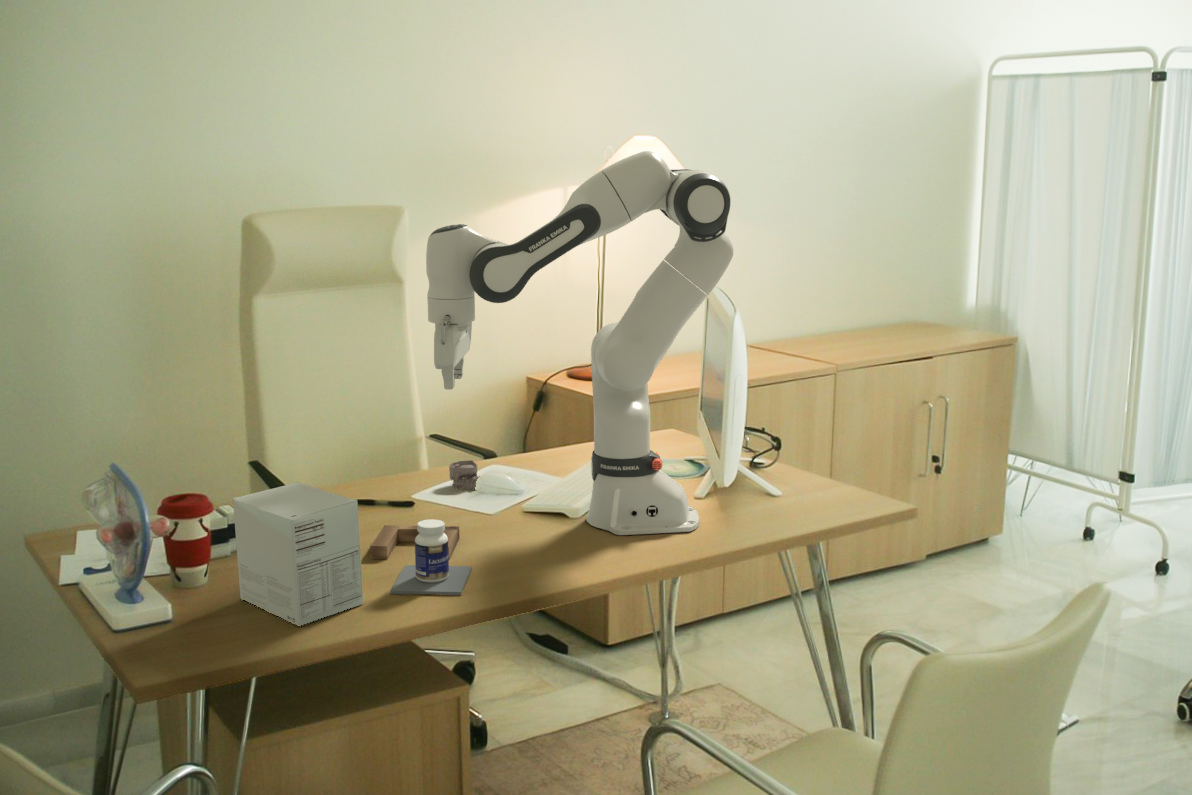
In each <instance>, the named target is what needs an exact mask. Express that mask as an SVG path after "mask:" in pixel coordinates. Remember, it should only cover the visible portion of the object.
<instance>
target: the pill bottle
mask: <svg viewBox="0 0 1192 795" xmlns="http://www.w3.org/2000/svg"><path fill="white" fill-rule="evenodd" d="M416 526H417V531H418V532H419V534H418V535H417V536H416V538H415V542H414V552H415V553H414V555H415V556H414V559H415V561H414V562H415V564H414V565H415V566H416V578H417V579H418V580H419V581H422V582H426V583H435V582H440V581H443V580H445V579H447V578H448V576H449V566H450V564H449V561H450V560H449V557H448V537H447V535H446V534H444V533H443V532H444V530H445V526H446V524H445V521H442V520H440V519H434V518H433V519H432V518H431V519H430V518H429V519H423V520H420V521H418V522H417V525H416Z"/></svg>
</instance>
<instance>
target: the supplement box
mask: <svg viewBox="0 0 1192 795" xmlns="http://www.w3.org/2000/svg"><path fill="white" fill-rule="evenodd" d="M232 504H233V505H232V506H233V507H232V508H233V517H234V530H235V545H236V547H235V548H236V556H237V557H236V558H237V571H238V572H237V573H238V585H239V596H240V598H241V599H244V600H246V601H248V602H250V603H252V604H254V605H257V606H259V607H260V608H263V609H265V610H266V611H269V612H271V613H273V614H275V615H277V616H279V617H281V618H283V619H285V620H287V621H289V622H292V623H294V624H296V625H302V626H304V625H303V624H305V625H308V624H311V623H312V622H313V621H314V622H317V621H319V620H321V618H322V619H324V617H325V618H328V617H330V615H331V616H333V615H336V614H339V613H341V612H344V610H345V611H348V610H350V608H351V609H353V608H356V607H358V606H362V605H363V604H364V595H363V594H364V593H363V592H364V590H363V575H362V574H363V573H362V557H361V556H362V554H361V541H360V523H359V509H358V508H359V507H358V505H359V504H358V500H357V499H355V498H354V499H353V498H350V497H346V496H344V495H343V496H342V495H341V494H337V493H333V492H331V491H327V490H324V489H321V488H319V487H318V488H317V487H314V486H311V485H309V484H305V483H302V482H299V481H298V482H294V483H290V484H285V485H282V486H278V487H274V488H270V489H265V490H262V491H257V492H252V493H250V494H246V495H242V496H238V497H233V499H232ZM250 603H249V604H250ZM252 604H251V605H252ZM254 605H253V606H254ZM260 608H259V609H260ZM347 609H348V610H347ZM266 611H265V612H266ZM338 612H339V613H338ZM327 616H328V617H327ZM279 617H278V618H279ZM281 618H280V619H281ZM283 619H282V620H283ZM318 619H319V620H318ZM285 620H284V621H285ZM287 621H286V622H287ZM289 622H288V623H289ZM310 622H311V623H310ZM307 623H308V624H307Z"/></svg>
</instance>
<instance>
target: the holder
mask: <svg viewBox="0 0 1192 795" xmlns="http://www.w3.org/2000/svg"><path fill="white" fill-rule="evenodd" d="M443 533H444V534H446V535H447V537H448V557H449V561H450V559H451V558H452V556H453V553H454V551H455V550H456V547H457V545H458V542H459V541H460V537H461V536H460V526H459V525H445V530H444V532H443ZM418 534H419V532H418V531H417V525H398V524H397V525H396V524H395V525H391V524H389V525H387V524H385V525H384V526H383V527H382V528H381V530H380V531H379V533H378V534H377V536H376V538H375V539H374V540H373V542H372V543H371V545H370V559H371V560H388V559H389V557H390V556H391V554H392V553H391V552H393V551H394V549H395V548H396V546H397V545H398V542H408V543H409V542H414V543H415V538H416V536H417V535H418Z"/></svg>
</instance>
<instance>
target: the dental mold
mask: <svg viewBox="0 0 1192 795" xmlns="http://www.w3.org/2000/svg"><path fill="white" fill-rule="evenodd" d="M448 467H449V480H451V481H452V484H451V487H452V488H453V487H454V488H453V489H455V490H465V489H466V491H467V490H468V491H469V490H470V491H473V490H472V489H475V487H476V481H477V479H478V478H479V477H480V476H481V475H478V464H477V463H476V462H475V461H474V460H470V459H469V460H460V461H455V462H452V463H450V464H449V465H448ZM458 488H459V489H458Z"/></svg>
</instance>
